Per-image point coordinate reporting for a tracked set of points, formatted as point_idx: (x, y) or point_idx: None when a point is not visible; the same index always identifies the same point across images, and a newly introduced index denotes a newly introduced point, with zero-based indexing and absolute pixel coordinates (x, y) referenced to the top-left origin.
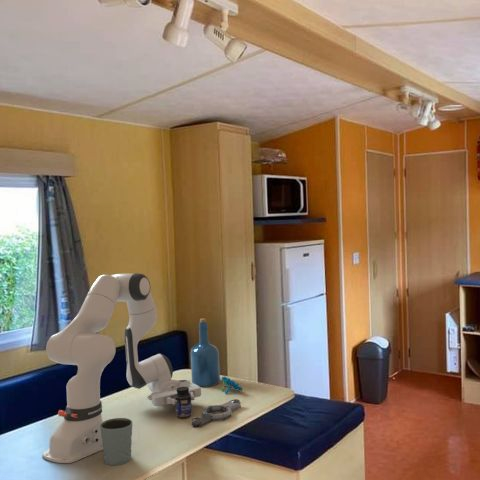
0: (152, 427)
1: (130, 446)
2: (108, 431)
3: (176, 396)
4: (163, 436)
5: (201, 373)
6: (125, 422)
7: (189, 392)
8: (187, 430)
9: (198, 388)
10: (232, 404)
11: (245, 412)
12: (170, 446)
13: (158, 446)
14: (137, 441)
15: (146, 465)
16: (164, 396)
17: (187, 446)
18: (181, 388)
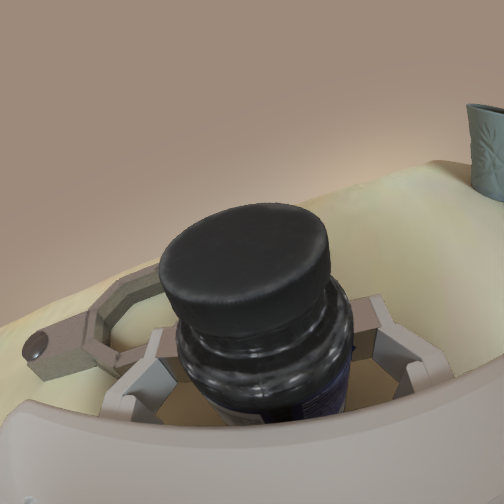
0: (478, 318)
1: (471, 155)
2: (498, 112)
3: (342, 294)
4: (421, 241)
5: None
6: (493, 121)
7: (125, 414)
8: (330, 256)
9: (32, 401)
10: (63, 325)
11: (78, 309)
12: (395, 199)
13: (426, 204)
14: (492, 235)
15: (433, 169)
16: (480, 367)
17: (352, 193)
18: (251, 243)
